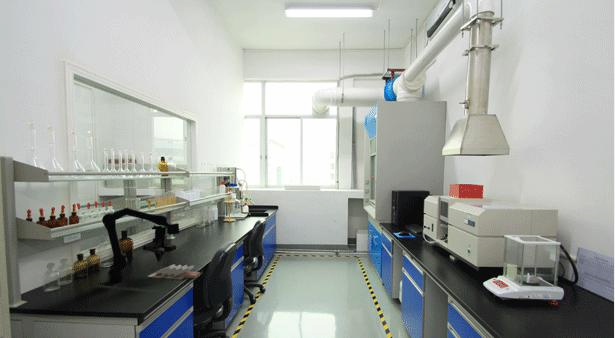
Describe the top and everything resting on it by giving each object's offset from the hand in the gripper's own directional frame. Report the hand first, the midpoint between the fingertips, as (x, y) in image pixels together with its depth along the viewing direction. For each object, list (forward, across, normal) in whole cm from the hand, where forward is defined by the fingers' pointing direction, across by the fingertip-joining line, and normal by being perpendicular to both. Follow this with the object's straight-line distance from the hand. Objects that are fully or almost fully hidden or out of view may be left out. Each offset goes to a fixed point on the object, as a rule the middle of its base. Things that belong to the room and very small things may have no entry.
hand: (158, 261), depth 152 cm
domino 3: (+6, +8, 0) cm, 10 cm away
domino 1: (+6, 0, 0) cm, 6 cm away
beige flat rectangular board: (+8, +8, 0) cm, 11 cm away
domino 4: (+6, +12, 0) cm, 14 cm away
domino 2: (+6, +4, 0) cm, 7 cm away
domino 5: (+6, +16, 0) cm, 17 cm away
